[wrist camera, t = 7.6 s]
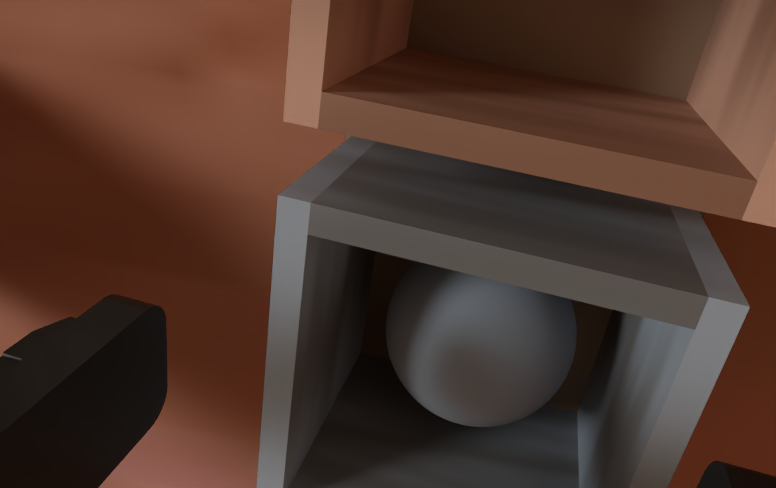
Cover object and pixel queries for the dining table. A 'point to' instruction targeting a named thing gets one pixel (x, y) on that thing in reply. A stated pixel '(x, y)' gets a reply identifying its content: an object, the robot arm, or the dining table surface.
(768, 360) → the dining table surface
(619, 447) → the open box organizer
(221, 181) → the dining table surface
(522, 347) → the ball slate
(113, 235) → the dining table surface
